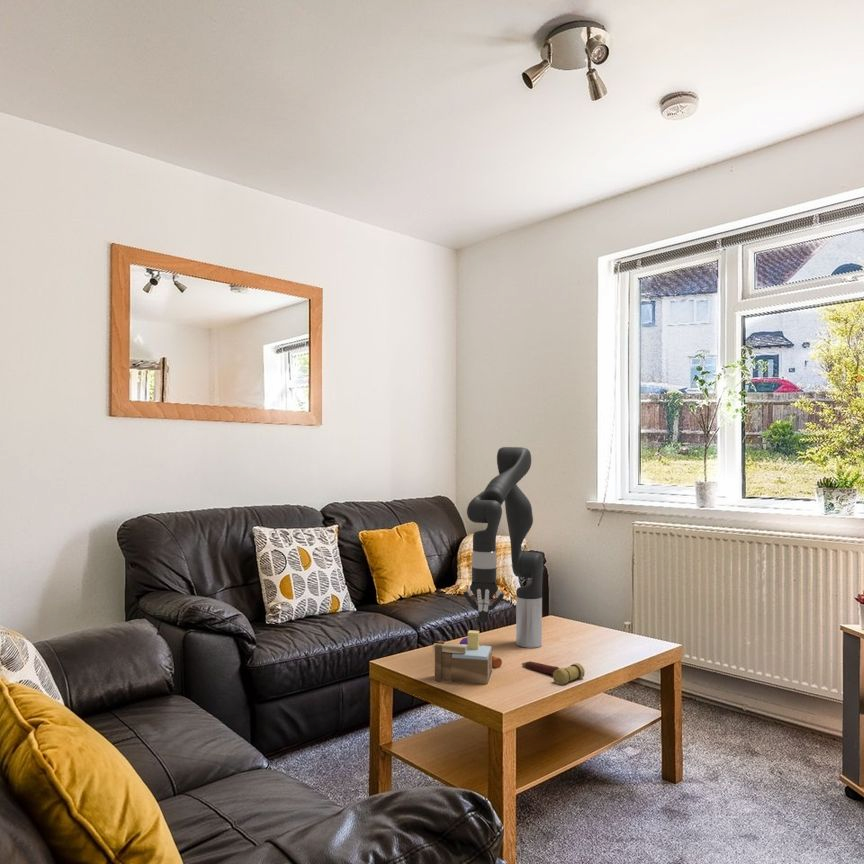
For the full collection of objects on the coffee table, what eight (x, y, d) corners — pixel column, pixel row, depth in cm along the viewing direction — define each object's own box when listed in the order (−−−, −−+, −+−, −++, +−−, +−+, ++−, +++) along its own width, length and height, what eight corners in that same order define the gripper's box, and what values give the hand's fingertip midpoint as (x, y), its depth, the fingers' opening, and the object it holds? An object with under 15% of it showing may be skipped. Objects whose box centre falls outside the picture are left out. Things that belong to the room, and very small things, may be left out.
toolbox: (442, 668, 215) (442, 634, 216) (492, 671, 212) (492, 637, 213) (434, 680, 203) (434, 645, 204) (487, 684, 200) (487, 648, 200)
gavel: (511, 659, 216) (532, 653, 222) (512, 674, 215) (532, 667, 222) (564, 670, 200) (584, 664, 207) (565, 686, 200) (585, 679, 206)
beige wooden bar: (434, 649, 207) (434, 643, 207) (466, 651, 205) (466, 645, 205) (432, 651, 205) (432, 645, 205) (464, 653, 203) (464, 647, 203)
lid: (458, 651, 214) (458, 628, 215) (491, 653, 212) (491, 630, 212) (452, 661, 203) (452, 637, 203) (486, 664, 201) (487, 639, 201)
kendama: (489, 657, 214) (454, 638, 231) (491, 675, 215) (456, 654, 232) (504, 651, 217) (468, 632, 234) (506, 668, 218) (470, 648, 235)
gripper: (507, 564, 206) (506, 621, 206) (464, 563, 209) (464, 619, 208) (504, 568, 199) (504, 627, 198) (460, 566, 202) (460, 625, 201)
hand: (483, 623), depth 203 cm, fingers closed
